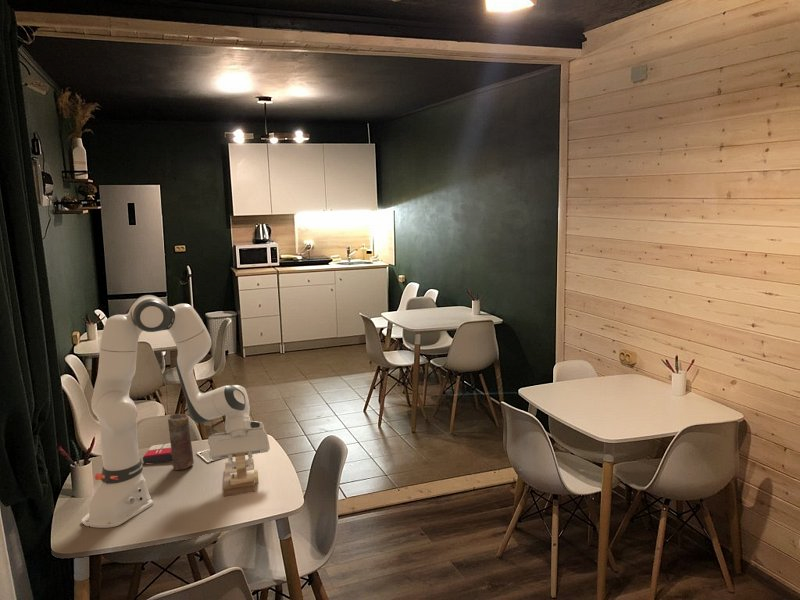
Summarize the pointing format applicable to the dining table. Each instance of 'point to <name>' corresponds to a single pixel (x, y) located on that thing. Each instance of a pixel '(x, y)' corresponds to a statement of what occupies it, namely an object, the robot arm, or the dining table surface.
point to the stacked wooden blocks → (243, 472)
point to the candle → (180, 441)
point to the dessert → (203, 457)
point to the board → (236, 488)
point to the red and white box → (158, 454)
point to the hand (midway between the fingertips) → (241, 467)
